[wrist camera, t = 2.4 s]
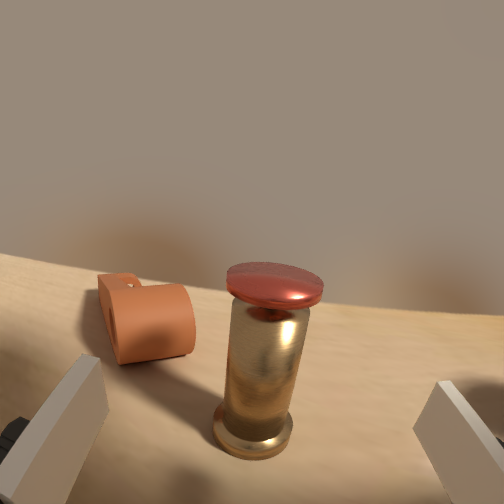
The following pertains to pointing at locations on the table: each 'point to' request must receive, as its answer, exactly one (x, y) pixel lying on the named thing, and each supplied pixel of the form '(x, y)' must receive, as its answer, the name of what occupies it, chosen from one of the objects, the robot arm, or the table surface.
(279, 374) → the valve
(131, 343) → the orange holed part
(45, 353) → the table surface
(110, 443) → the table surface
